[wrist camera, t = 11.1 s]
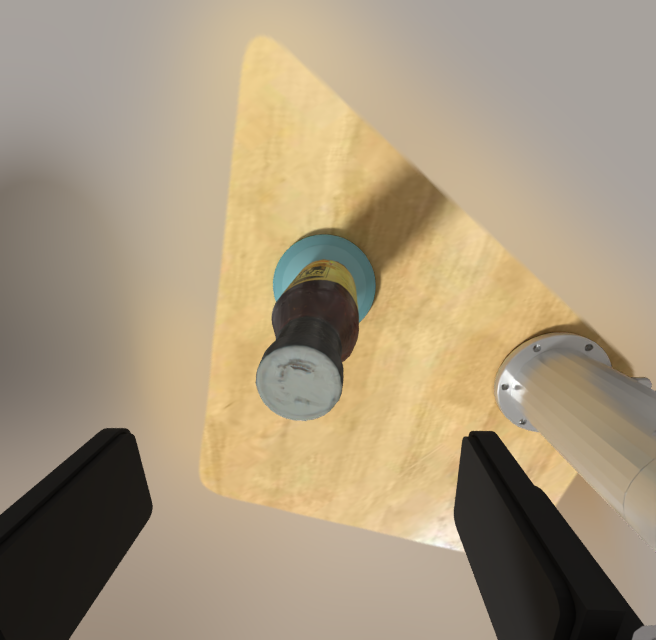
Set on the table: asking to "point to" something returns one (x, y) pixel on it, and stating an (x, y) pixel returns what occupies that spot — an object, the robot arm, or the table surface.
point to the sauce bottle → (310, 342)
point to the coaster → (329, 250)
